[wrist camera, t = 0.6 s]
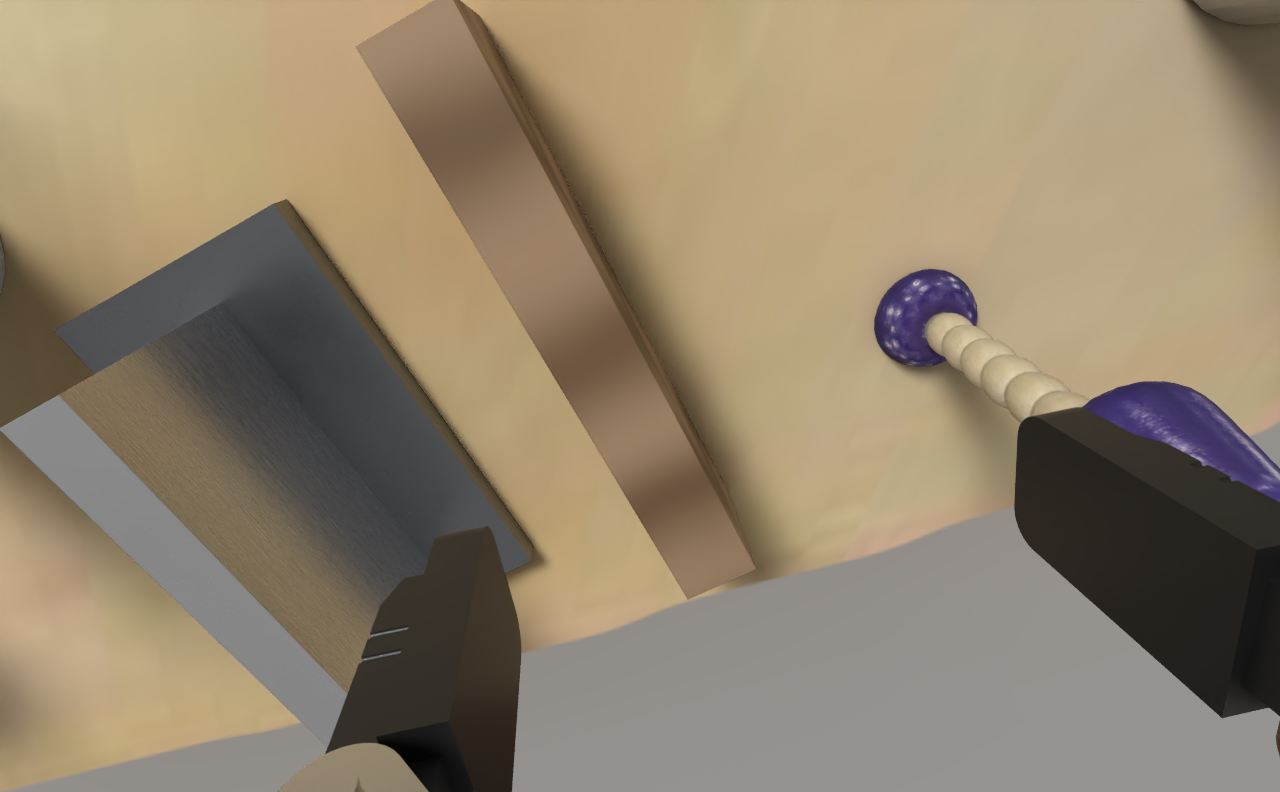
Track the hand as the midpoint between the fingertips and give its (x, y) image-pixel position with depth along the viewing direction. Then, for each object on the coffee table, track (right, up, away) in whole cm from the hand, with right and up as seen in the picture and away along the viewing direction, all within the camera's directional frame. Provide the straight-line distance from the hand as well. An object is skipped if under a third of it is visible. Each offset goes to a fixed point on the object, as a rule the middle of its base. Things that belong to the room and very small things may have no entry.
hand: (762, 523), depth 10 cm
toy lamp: (+10, +5, +20) cm, 23 cm away
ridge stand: (-15, 0, +20) cm, 25 cm away
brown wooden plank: (-4, +6, +18) cm, 20 cm away
